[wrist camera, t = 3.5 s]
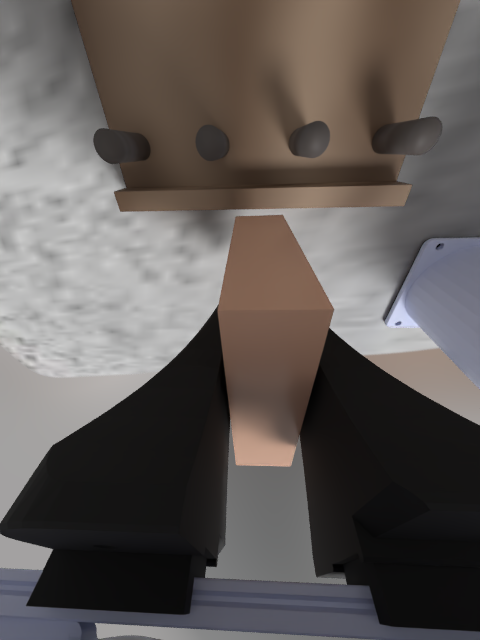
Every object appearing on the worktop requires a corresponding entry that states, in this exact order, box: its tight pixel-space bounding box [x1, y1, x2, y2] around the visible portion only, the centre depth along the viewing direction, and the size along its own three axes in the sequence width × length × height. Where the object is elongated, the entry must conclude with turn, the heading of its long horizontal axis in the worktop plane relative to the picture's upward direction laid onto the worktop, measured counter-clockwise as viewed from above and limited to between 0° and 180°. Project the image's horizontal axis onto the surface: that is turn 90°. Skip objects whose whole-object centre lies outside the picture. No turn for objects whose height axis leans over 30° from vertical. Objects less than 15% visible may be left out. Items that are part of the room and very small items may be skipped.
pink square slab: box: [218, 215, 334, 466], centre depth 9 cm, size 2×7×7 cm, turn 2°
